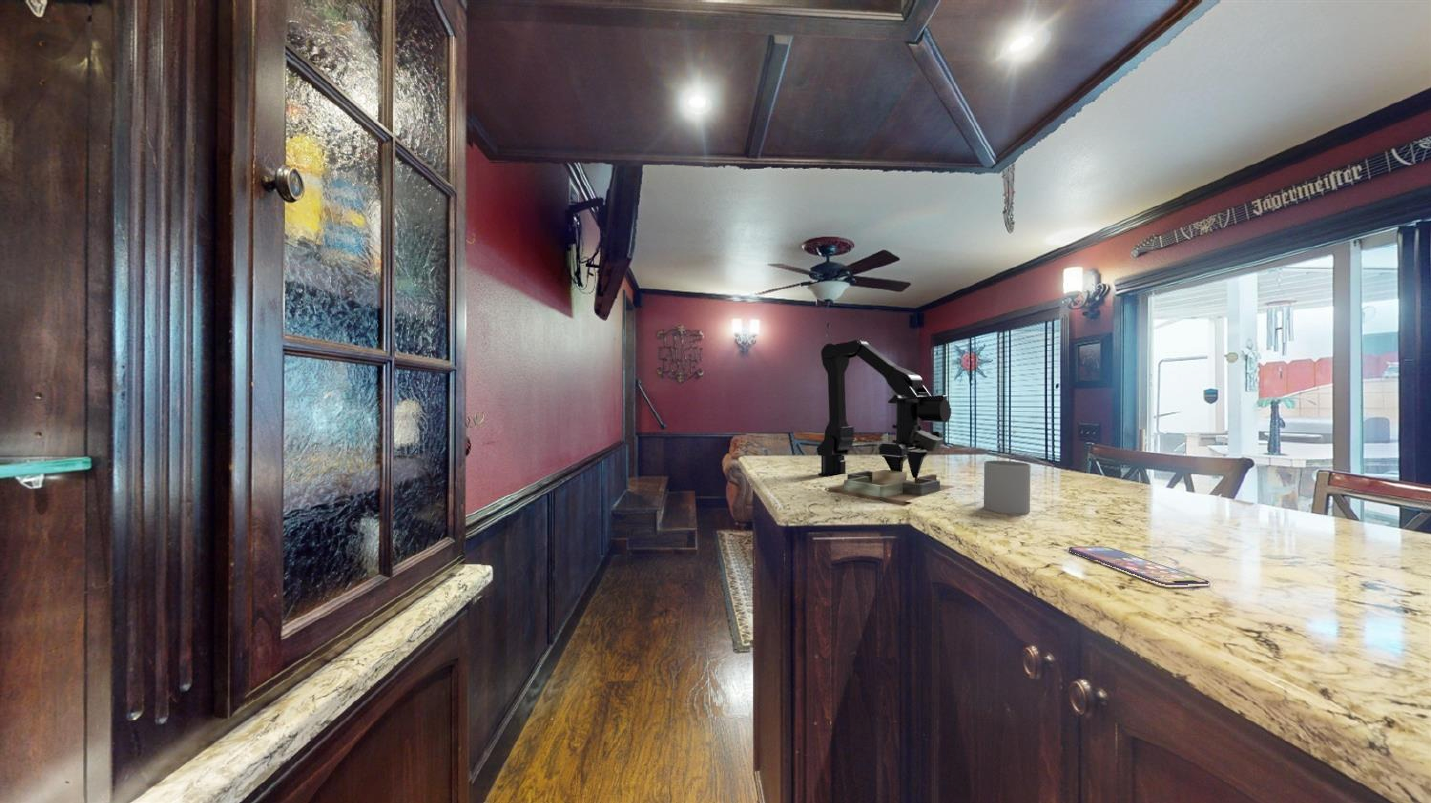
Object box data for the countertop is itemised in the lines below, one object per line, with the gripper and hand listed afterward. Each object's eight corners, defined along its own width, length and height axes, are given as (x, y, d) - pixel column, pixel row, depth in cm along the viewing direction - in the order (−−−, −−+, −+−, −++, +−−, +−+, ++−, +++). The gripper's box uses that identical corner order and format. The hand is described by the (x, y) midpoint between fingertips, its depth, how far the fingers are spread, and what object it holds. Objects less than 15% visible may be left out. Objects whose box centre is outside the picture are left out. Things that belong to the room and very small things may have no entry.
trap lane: (828, 491, 121) (828, 477, 121) (882, 479, 138) (882, 467, 138) (903, 505, 106) (903, 489, 106) (954, 490, 123) (954, 477, 123)
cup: (1017, 505, 106) (1017, 460, 106) (1038, 515, 98) (1038, 466, 98) (977, 504, 107) (977, 460, 107) (994, 514, 99) (995, 465, 99)
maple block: (872, 487, 121) (872, 471, 121) (884, 484, 125) (884, 469, 125) (894, 491, 116) (894, 474, 116) (906, 488, 120) (906, 472, 120)
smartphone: (1106, 551, 77) (1214, 589, 62) (1064, 552, 76) (1164, 591, 61) (1106, 546, 77) (1215, 582, 62) (1064, 546, 76) (1165, 584, 61)
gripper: (920, 423, 114) (920, 488, 115) (953, 420, 127) (953, 479, 127) (878, 421, 123) (877, 482, 123) (912, 419, 135) (912, 474, 135)
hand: (906, 479), depth 127 cm, fingers open, 9 cm apart
